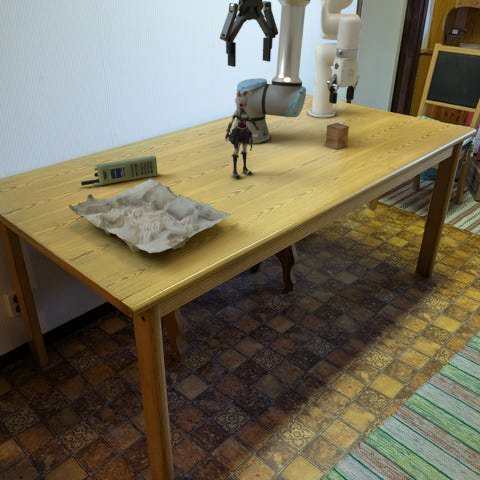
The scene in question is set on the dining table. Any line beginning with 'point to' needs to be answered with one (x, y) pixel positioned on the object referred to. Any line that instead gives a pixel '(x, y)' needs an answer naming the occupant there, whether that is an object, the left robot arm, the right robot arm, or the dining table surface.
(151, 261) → the dining table surface
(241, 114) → the figurine
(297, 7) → the left robot arm
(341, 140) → the block
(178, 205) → the grey bumpy flat piece
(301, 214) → the dining table surface
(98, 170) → the handheld radio
